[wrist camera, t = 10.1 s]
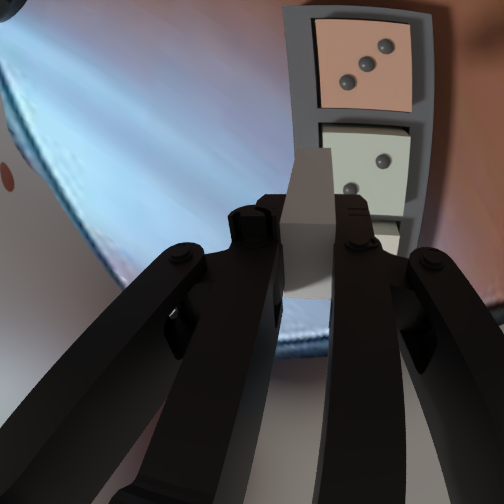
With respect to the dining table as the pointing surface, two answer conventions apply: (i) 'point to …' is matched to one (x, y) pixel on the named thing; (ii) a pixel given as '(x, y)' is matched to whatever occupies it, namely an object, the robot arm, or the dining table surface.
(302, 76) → the keypad
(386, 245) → the key
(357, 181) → the key
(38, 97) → the dining table surface
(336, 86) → the key
